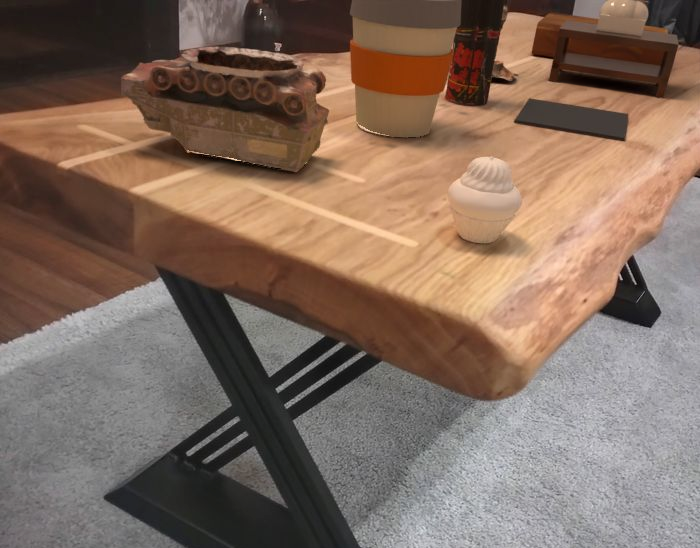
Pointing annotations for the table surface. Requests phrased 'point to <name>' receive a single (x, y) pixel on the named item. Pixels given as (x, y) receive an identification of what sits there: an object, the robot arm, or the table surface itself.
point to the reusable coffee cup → (401, 62)
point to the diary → (590, 42)
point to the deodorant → (474, 52)
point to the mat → (574, 119)
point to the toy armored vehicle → (233, 104)
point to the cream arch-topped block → (623, 17)
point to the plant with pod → (498, 67)
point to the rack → (614, 66)
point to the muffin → (484, 200)
